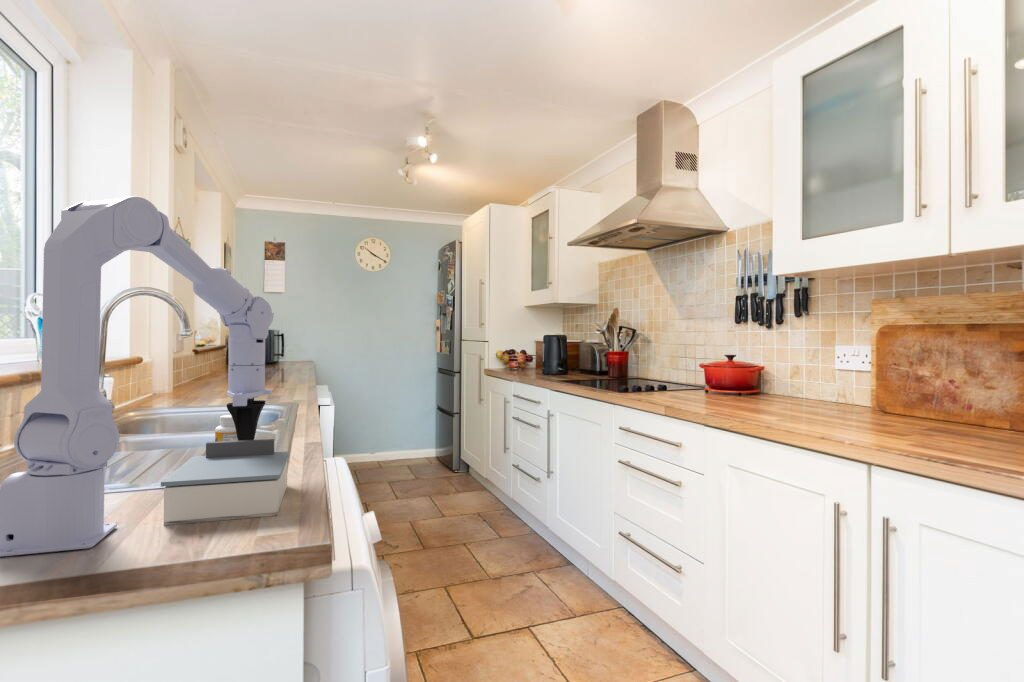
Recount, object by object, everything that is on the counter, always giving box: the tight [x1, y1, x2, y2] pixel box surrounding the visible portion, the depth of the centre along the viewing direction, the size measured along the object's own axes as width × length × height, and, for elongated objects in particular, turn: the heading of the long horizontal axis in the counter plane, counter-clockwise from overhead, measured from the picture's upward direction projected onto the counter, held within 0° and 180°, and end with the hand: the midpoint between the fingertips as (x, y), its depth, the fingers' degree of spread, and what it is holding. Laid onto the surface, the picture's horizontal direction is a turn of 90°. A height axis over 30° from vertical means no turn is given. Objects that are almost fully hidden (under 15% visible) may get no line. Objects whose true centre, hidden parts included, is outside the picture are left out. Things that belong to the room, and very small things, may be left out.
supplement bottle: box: [214, 414, 238, 442], centre depth 103 cm, size 6×6×10 cm
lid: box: [160, 438, 290, 488], centre depth 81 cm, size 15×17×3 cm
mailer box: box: [163, 461, 288, 526], centre depth 81 cm, size 14×16×5 cm
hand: (246, 443), depth 92 cm, fingers closed
